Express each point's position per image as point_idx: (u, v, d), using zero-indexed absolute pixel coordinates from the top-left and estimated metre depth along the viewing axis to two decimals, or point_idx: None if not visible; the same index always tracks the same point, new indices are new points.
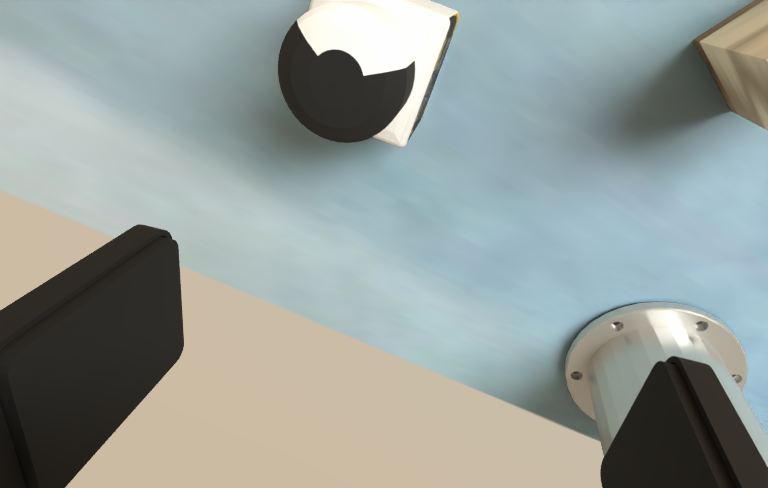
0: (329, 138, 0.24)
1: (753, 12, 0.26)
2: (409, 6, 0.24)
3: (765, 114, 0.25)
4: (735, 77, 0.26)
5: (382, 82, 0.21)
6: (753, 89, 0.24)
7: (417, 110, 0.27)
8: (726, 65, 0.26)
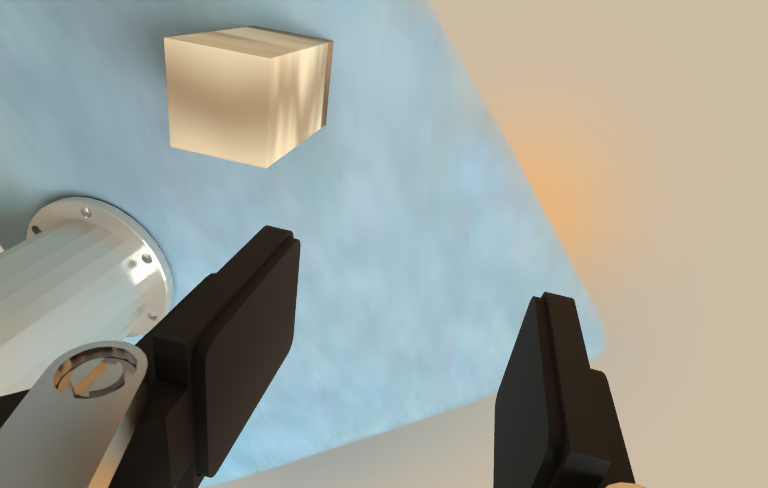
0: None
1: (278, 35, 0.28)
2: None
3: None
4: None
5: None
6: None
7: None
8: None
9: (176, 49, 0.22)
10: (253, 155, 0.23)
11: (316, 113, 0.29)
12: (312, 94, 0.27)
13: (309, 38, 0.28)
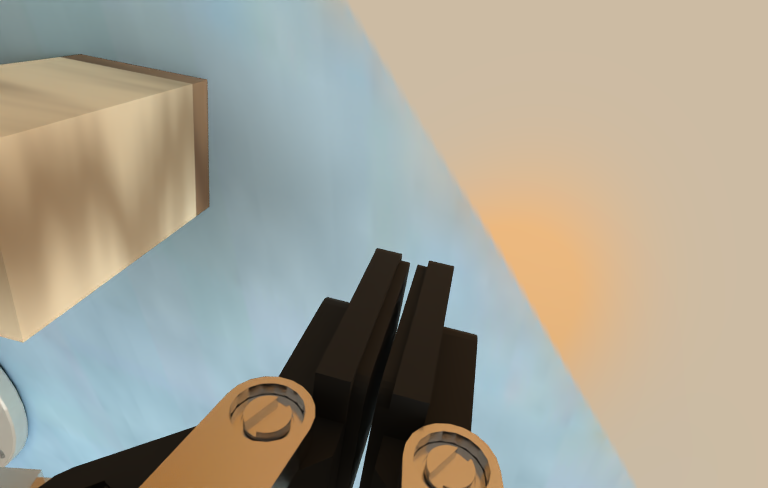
0: None
1: (103, 73, 0.16)
2: None
3: None
4: None
5: None
6: None
7: None
8: None
9: None
10: None
11: (179, 198, 0.18)
12: (159, 173, 0.16)
13: (163, 76, 0.17)
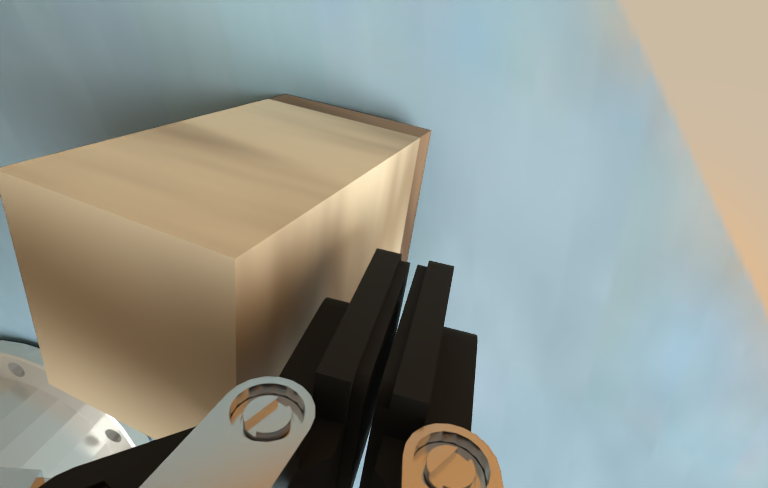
0: None
1: (320, 122, 0.14)
2: None
3: None
4: None
5: None
6: None
7: None
8: None
9: (22, 199, 0.08)
10: None
11: None
12: (376, 248, 0.13)
13: (383, 126, 0.14)
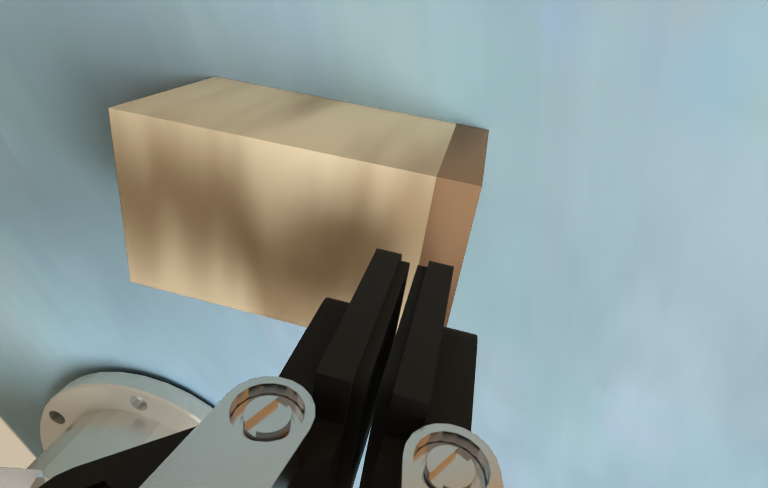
0: None
1: (412, 137, 0.13)
2: None
3: None
4: None
5: None
6: None
7: None
8: None
9: None
10: None
11: None
12: (332, 254, 0.12)
13: (450, 162, 0.12)
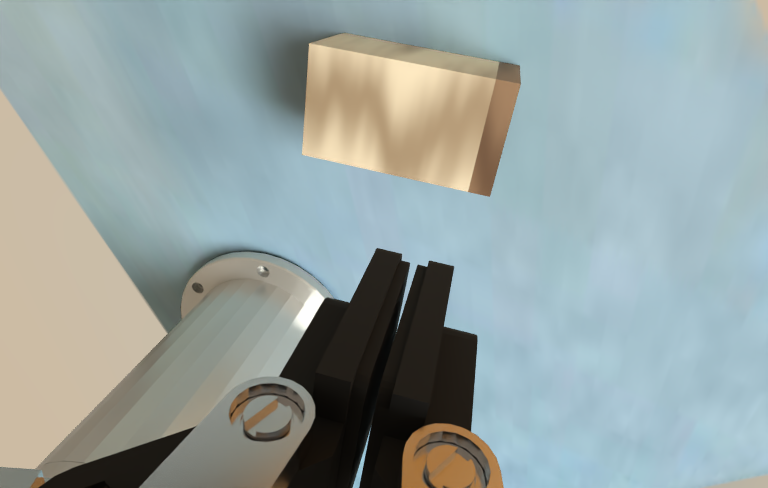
0: None
1: (476, 65, 0.22)
2: None
3: None
4: None
5: None
6: None
7: None
8: None
9: None
10: None
11: (449, 162, 0.22)
12: (432, 129, 0.21)
13: (501, 75, 0.21)
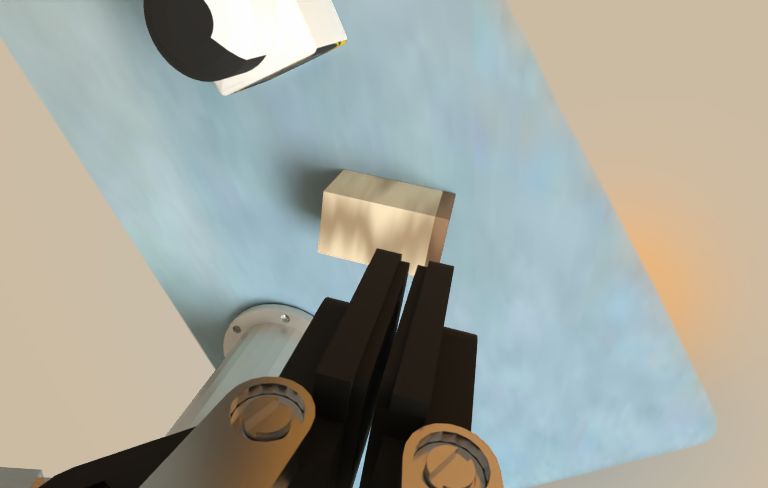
0: (157, 48, 0.26)
1: (426, 199, 0.36)
2: (297, 14, 0.28)
3: None
4: None
5: (220, 54, 0.25)
6: None
7: (251, 82, 0.30)
8: None
9: None
10: None
11: (410, 260, 0.36)
12: (398, 241, 0.35)
13: (440, 210, 0.35)
